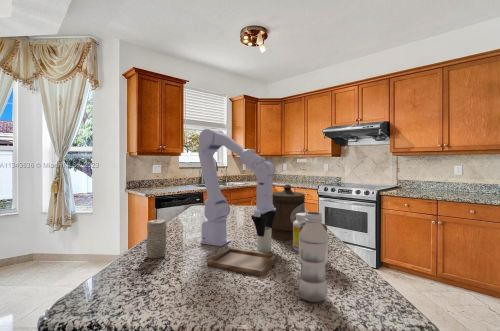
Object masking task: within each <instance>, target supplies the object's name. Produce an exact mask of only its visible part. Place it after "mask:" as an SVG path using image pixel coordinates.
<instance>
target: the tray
mask: <svg viewBox="0 0 500 331" xmlns="http://www.w3.org/2000/svg"><path fill="white" fill-rule="evenodd" d="M278 260H279V254H275V253H263V252H258V251H257V250H256V251H255V250H248V249H244V248H243V249H242V248H237V247H230V246H229V247H227V248H226V249H224V250H223V251H221V252H219V253H218V254H216V255H214V256H212V257H211V258H209V259H208V260H207V261H206V267H212V268H217V269H221V270H227V271H231V272H237V273H243V274H246V275H251V276H252V275H253V276H257V277H262V278H263V276H265V274H266V273H267V272H268V271H269V270H270V269H271V268H272V267H273V265H275V263H276V262H277V261H278Z"/></svg>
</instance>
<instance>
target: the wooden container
mask: <svg viewBox="0 0 500 331" xmlns="http://www.w3.org/2000/svg"><path fill="white" fill-rule="evenodd" d="M282 188H283V190H282V191H273V205H274V208H276V210H275V211H277V214H276V216H275V218H274V221H273V225H272V232H271V238H273V239H275V240H279V241H280V240H281V241H290V240H291V241H293V222H294V221H295V220H296V219H297V218H296V214H297V213H306V210H305V207H306V206H305V204H306V203H305V201H306V200H305V199H306V194H305V193H304V192H297V191H293V190H292V185H290V184H284V185H283V187H282Z"/></svg>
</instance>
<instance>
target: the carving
mask: <svg viewBox="0 0 500 331" xmlns="http://www.w3.org/2000/svg"><path fill="white" fill-rule="evenodd" d="M167 229H168V228H167V222H166V220H165V219H163V218H160V219H159V218H158V219H153V220H148V221H147V223H146V231H147V232H146V237H147V238H146V241H147V242H146V249H145V250H146V255H147V257H148V258H149V259H151V260H152V259H153V260H154V259H159V258H162V257H163V256H164V255H165V254H166V253H167Z"/></svg>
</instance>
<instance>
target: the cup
mask: <svg viewBox="0 0 500 331" xmlns="http://www.w3.org/2000/svg"><path fill="white" fill-rule="evenodd" d="M271 232H272V229H271V228H270V227H265V233H264V236H263V237H262V236H258V235H256V236H257V242H256V243H257V245H256V246H257V250H256V252H263V253H269V254H271V252H272V237H271Z"/></svg>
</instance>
